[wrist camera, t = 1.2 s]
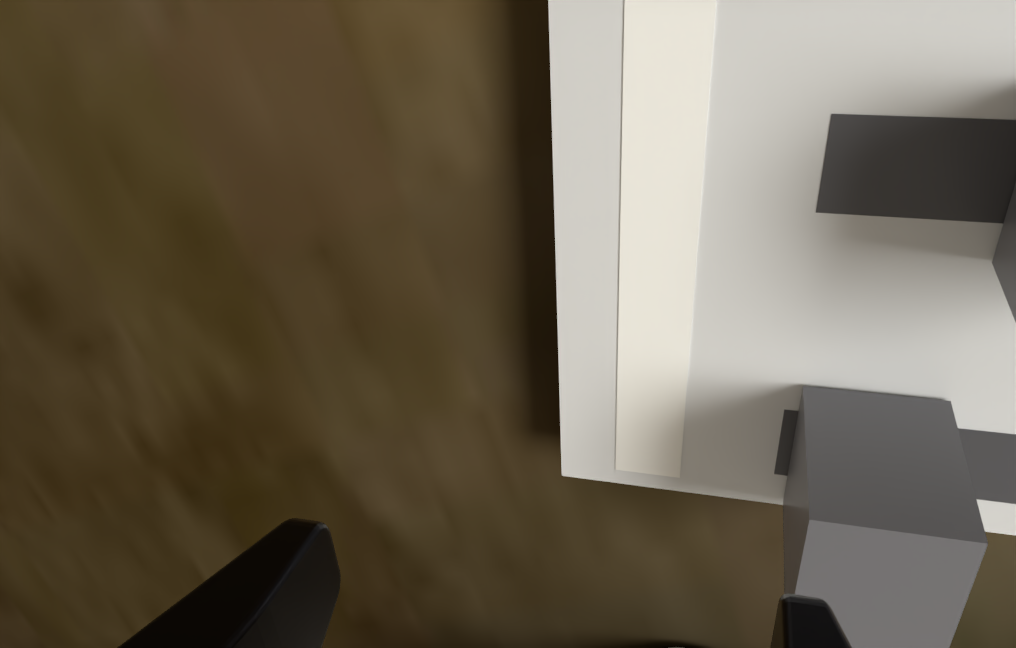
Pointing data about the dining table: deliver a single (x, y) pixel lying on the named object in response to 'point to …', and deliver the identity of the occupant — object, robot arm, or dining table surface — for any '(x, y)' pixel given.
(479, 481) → the dining table surface
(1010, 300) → the block
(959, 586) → the block
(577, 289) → the panel
